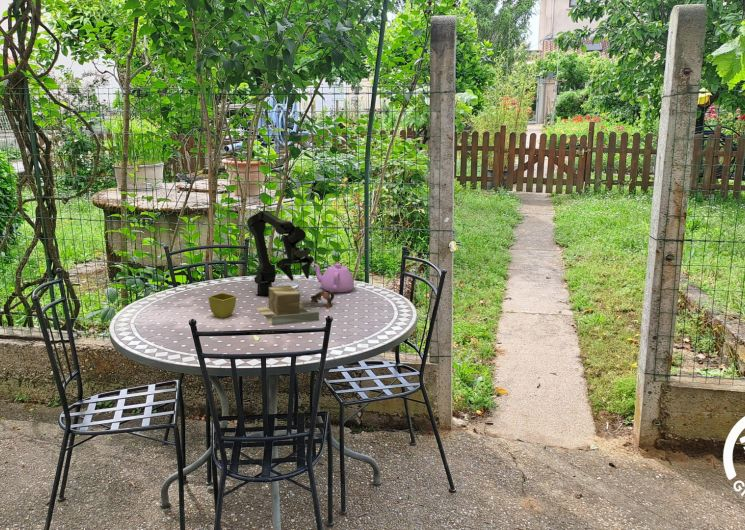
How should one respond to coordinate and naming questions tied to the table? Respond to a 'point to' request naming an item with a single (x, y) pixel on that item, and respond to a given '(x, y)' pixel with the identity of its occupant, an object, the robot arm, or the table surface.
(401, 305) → the table surface
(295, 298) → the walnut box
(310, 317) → the board
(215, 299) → the flower pot
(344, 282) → the teapot
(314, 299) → the brown piece
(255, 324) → the table surface
